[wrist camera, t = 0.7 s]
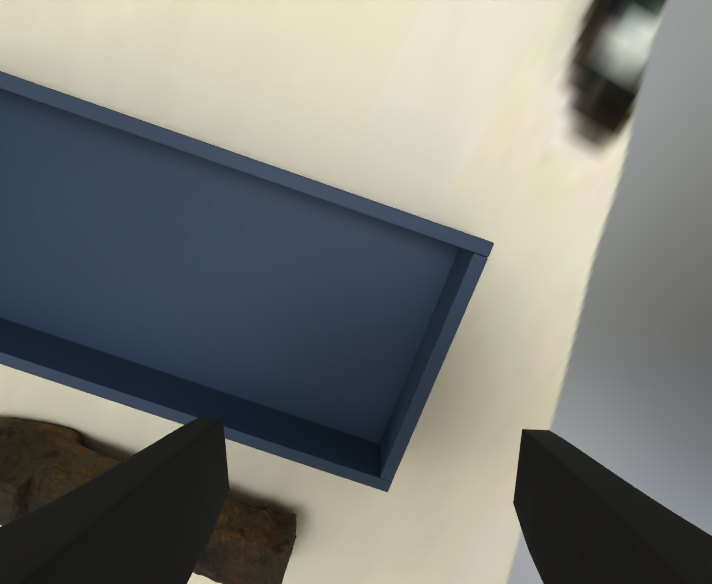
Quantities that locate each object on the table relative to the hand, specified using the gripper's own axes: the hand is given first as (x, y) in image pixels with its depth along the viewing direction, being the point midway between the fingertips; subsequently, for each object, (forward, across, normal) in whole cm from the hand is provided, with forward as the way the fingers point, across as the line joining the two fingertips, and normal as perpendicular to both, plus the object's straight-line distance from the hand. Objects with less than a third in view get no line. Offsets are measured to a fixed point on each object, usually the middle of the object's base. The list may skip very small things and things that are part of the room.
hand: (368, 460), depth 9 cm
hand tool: (+10, +13, +10) cm, 19 cm away
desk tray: (+10, +9, -3) cm, 14 cm away
